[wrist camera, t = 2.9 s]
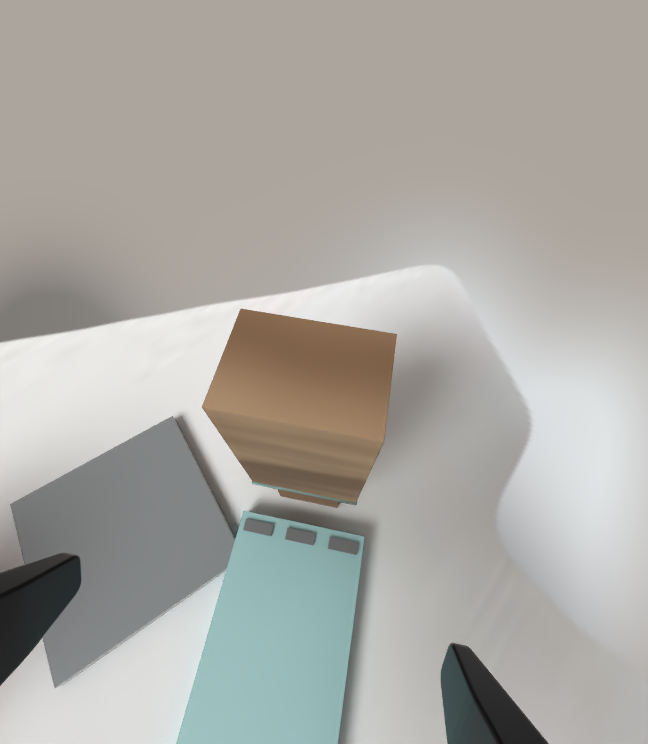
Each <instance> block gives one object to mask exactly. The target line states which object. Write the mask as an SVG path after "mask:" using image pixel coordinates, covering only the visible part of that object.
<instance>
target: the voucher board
mask: <svg viewBox="0 0 648 744" xmlns="http://www.w3.org/2000/svg"><path fill="white" fill-rule="evenodd" d="M364 538H365V536H360V535H355V534H351V533H346V532H341V531H337V530H332V529H327V528H323V527H318V526H313V525H309V524H304V523H299V522H294V521H290V520H285V519H280V518H276V517H271V516H266V515H262V514H257V513H252V512H248V511H243V514H242V518H241V521H240V525H239V528H238V532H237V535H236V539H235V542H234V545H233V549H232V552H231V556H230V559H229V563H228V566H227V570H226V573H225V577H224V580H223V583H222V587H221V590H220V594H219V597H218V601H217V604H216V608H215V611H214V615H213V618H212V622H211V625H210V628H209V632H208V635H207V639H206V642H205V646H204V649H203V653H202V656H201V660H200V663H199V666H198V670H197V673H196V677H195V680H194V684H193V687H192V691H191V694H190V698H189V701H188V705H187V708H186V711H185V715H184V718H183V722H182V725H181V729H180V732H179V736H178V739H177V743H176V744H338V738H339V730H340V723H341V715H342V707H343V700H344V692H345V684H346V677H347V669H348V661H349V653H350V646H351V638H352V630H353V623H354V615H355V607H356V600H357V592H358V584H359V576H360V569H361V561H362V553H363V546H364Z"/></svg>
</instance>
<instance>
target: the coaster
mask: <svg viewBox="0 0 648 744" xmlns="http://www.w3.org/2000/svg"><path fill="white" fill-rule="evenodd" d="M10 505H11V509H12V513H13V517H14V521H15V526H16V530H17V534H18V538H19V542H20V546H21V550H22V555H23V559H24V563H25V565H26V564H29V563H32V562H35V561H38V560H41V559H44V558H47V557H50V556H53V555H56V554H59V553H62V552H67V553H71V554H76V555H78V556H79V557H80V560H81V578H82V581H81V586H80V588H79V590H78V592H77V594H76V595H75V597H74V598H73V599H72V600H71V602H70V603H69V604H68V605H67V607H66V608H65V609H64V611H63V612H62V613H61V614H60V616H59V617H58V618H57V620H56V621H55V622H54V623H53V625H52V626H51V627H50V628H49V630H48V631H47V632H46V634H45V635H44V636H43V642H44V646H45V650H46V654H47V658H48V662H49V666H50V671H51V675H52V679H53V683H54V687H55V688H56V687H59V686H61V685H63V684H65V683H66V682H67V681H69V680H70V679H72V678H73V677H75V676H76V675H77V674H79V673H80V672H82V671H83V670H85V669H86V668H87V667H89V666H90V665H92V664H93V663H95V662H96V661H97V660H99V659H100V658H102V657H103V656H105V655H106V654H107V653H109V652H110V651H112V650H113V649H115V648H116V647H117V646H119V645H120V644H122V643H123V642H125V641H126V640H127V639H129V638H130V637H132V636H133V635H135V634H136V633H137V632H139V631H140V630H142V629H143V628H145V627H146V626H147V625H149V624H150V623H152V622H153V621H155V620H156V619H157V618H159V617H160V616H162V615H163V614H165V613H166V612H167V611H169V610H170V609H172V608H173V607H175V606H176V605H177V604H179V603H180V602H182V601H183V600H185V599H186V598H187V597H189V596H190V595H192V594H193V593H195V592H196V591H197V590H199V589H200V588H202V587H203V586H205V585H206V584H207V583H209V582H210V581H212V580H213V579H215V578H216V577H217V576H219V575H220V574H222V573H223V572H225V571H226V570H227V566H228V563H229V559H230V556H231V552H232V549H233V545H234V542H235V539H236V538H235V536H234V534H233V532H232V530H231V528H230V527H229V525H228V523H227V521H226V519H225V517H224V515H223V513H222V511H221V509H220V507H219V505H218V503H217V501H216V499H215V497H214V495H213V493H212V491H211V489H210V487H209V485H208V483H207V481H206V479H205V477H204V475H203V473H202V471H201V469H200V467H199V465H198V463H197V461H196V459H195V457H194V455H193V453H192V451H191V449H190V447H189V445H188V443H187V441H186V439H185V437H184V436H183V434H182V432H181V430H180V428H179V426H178V424H177V422H176V420H175V419H174V417H173V416H172V417H170V418H168V419H166V420H164V421H163V422H161V423H159V424H157V425H155V426H153V427H152V428H150V429H148V430H146V431H144V432H142V433H140V434H139V435H137V436H135V437H133V438H131V439H129V440H128V441H126V442H124V443H122V444H120V445H118V446H117V447H115V448H113V449H111V450H109V451H107V452H106V453H104V454H102V455H100V456H98V457H96V458H95V459H93V460H91V461H89V462H87V463H85V464H84V465H82V466H80V467H78V468H76V469H74V470H72V471H71V472H69V473H67V474H65V475H63V476H61V477H60V478H58V479H56V480H54V481H52V482H50V483H49V484H47V485H45V486H43V487H41V488H39V489H38V490H36V491H34V492H32V493H30V494H28V495H27V496H25V497H23V498H21V499H19V500H17V501H15V502H14V503H12V504H10Z"/></svg>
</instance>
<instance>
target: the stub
mask: <svg viewBox="0 0 648 744" xmlns="http://www.w3.org/2000/svg"><path fill="white" fill-rule="evenodd" d="M396 337H397V334H392V333H386V332H380V331H374V330H368V329H362V328H356V327H350V326H343V325H337V324H331V323H325V322H319V321H313V320H307V319H301V318H295V317H288V316H282V315H276V314H270V313H264V312H258V311H252V310H246V309H240V312H239V314H238V317H237V319H236V322H235V324H234V327H233V329H232V332H231V335H230V337H229V340H228V342H227V345H226V347H225V350H224V352H223V355H222V357H221V360H220V362H219V365H218V367H217V370H216V372H215V375H214V378H213V380H212V383H211V385H210V388H209V390H208V393H207V395H206V398H205V400H204V403H203V405H202V408H203V409H204V411H205V412H206V414H207V415H208V417H209V418H210V420H211V421H212V423H213V424H214V426H215V427H216V428H217V430H218V431H219V433H220V434H221V436H222V437H223V439H224V440H225V442H226V443H227V445H228V446H229V447H230V449H231V450H232V452H233V453H234V455H235V456H236V458H237V459H238V461H239V462H240V464H241V465H242V466H243V468H244V469H245V471H246V472H247V474H248V475H249V477H250V478H251V480H252V484H255V485H260V486H265V487H270V488H275V489H278V491H279V493H280V495H281V496H283V497H288V498H293V499H297V500H302V501H307V502H312V503H317V504H322V505H326V506H331V507H336V508H337V507H338V503H339V502H342V503H347V504H352V505H356V504H357V499H358V497H359V495H360V492H361V490H362V488H363V486H364V484H365V482H366V479H367V477H368V475H369V473H370V471H371V469H372V466H373V464H374V462H375V460H376V458H377V456H378V453H379V451H380V449H381V447H382V445H383V442H384V437H385V428H386V420H387V412H388V403H389V395H390V387H391V378H392V370H393V362H394V353H395V345H396Z"/></svg>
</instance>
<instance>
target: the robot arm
mask: <svg viewBox="0 0 648 744" xmlns="http://www.w3.org/2000/svg"><path fill="white" fill-rule="evenodd" d="M81 581H82V578H81V560H80V557H79V556H78V555H76V554H71V553H67V552H62V553H59V554H56V555H53V556H50V557H47V558H44V559H41V560H38V561H35V562H32V563H29V564H26V565H23V566H20V567H17V568H14V569H11V570H8V571H5V572H2V573H0V685H1V684H2V683H3V682H4V681H5V680H6V679H7V678H8V677H9V676H10V675H11V673H12V672H13V671H14V670H15V669H16V668H17V667H18V666H19V665H20V664H21V662H22V661H23V660H24V659H25V658H26V657H27V656H28V655H29V653H30V652H31V651H32V650H33V649H34V647H35V646H36V645H37V644H38V643H39V641H40V640H41V639H42V637H43V636H44V635H45V634H46V632H47V631H48V630H49V628H50V627H51V626H52V625H53V623H54V622H55V621H56V620H57V618H58V617H59V616H60V614H61V613H62V612H63V611H64V609H65V608H66V607H67V605H68V604H69V603H70V602H71V600H72V599H73V598H74V597H75V595H76V594H77V592H78V590H79V588H80V586H81ZM441 688H442V698H443V707H444V716H445V725H446V734H447V743H448V744H548V742H547V741H546V740H545V739H544V737H543V736H542V735H541V734H540V733H539V731H538V730H537V729H536V728H535V726H534V725H533V724H532V723H531V722H530V720H529V719H528V718H527V717H526V716H525V714H524V713H523V712H522V711H521V709H520V708H519V707H518V706H517V705H516V703H515V702H514V701H513V700H512V698H511V697H510V696H509V695H508V694H507V692H506V691H505V690H504V689H503V688H502V686H501V685H500V684H499V683H498V681H497V680H496V679H495V678H494V677H493V675H492V674H491V673H490V672H489V671H488V669H487V668H486V667H485V666H484V664H483V663H482V662H481V661H480V660H479V658H478V657H477V656H476V655H475V653H474V652H473V651H472V650H471V649H470V648H469V647H468V646H464V645H460V644H456V643H451V644H450V645H449V647H448V650H447V653H446V656H445V659H444V662H443V666H442V669H441Z"/></svg>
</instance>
